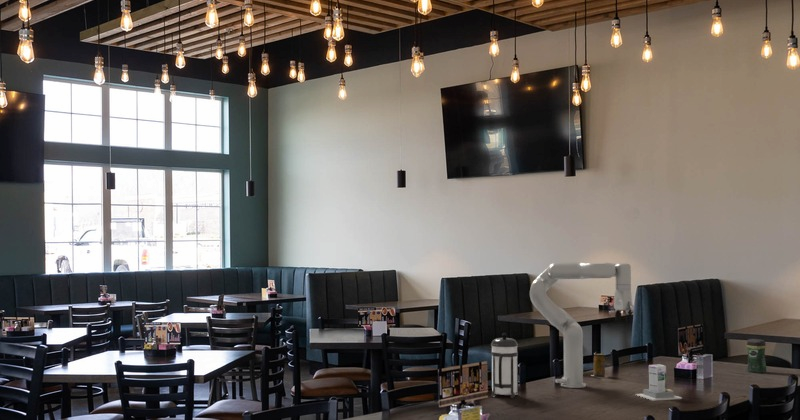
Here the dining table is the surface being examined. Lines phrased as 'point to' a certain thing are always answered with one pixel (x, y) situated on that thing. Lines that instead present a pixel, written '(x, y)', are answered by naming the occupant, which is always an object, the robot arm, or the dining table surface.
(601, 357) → the condiment
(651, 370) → the syrup box
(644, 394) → the chassis plate
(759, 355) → the coffee jar
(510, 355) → the coffee press
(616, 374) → the dining table surface
